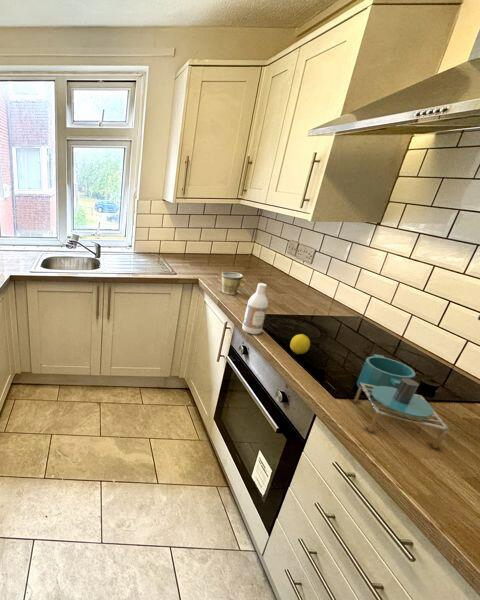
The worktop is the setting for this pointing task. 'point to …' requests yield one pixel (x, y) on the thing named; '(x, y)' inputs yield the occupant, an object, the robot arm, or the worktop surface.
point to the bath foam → (256, 311)
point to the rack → (378, 413)
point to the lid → (403, 399)
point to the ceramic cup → (231, 282)
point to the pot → (383, 372)
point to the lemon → (300, 344)
